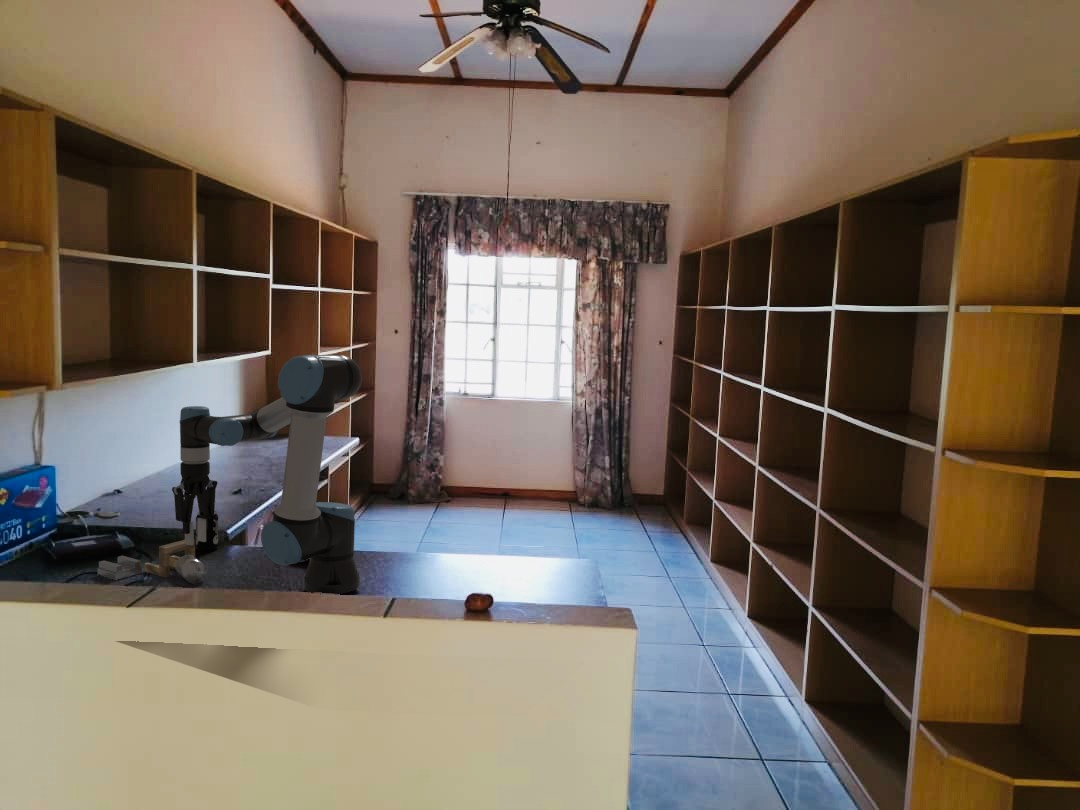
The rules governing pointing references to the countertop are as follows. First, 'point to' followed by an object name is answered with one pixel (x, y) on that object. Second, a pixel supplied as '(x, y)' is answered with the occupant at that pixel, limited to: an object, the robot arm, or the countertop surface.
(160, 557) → the tan wooden angular frame
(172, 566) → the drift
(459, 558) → the countertop surface
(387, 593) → the countertop surface
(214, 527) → the beverage can
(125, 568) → the v block
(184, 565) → the grey rounded piece
